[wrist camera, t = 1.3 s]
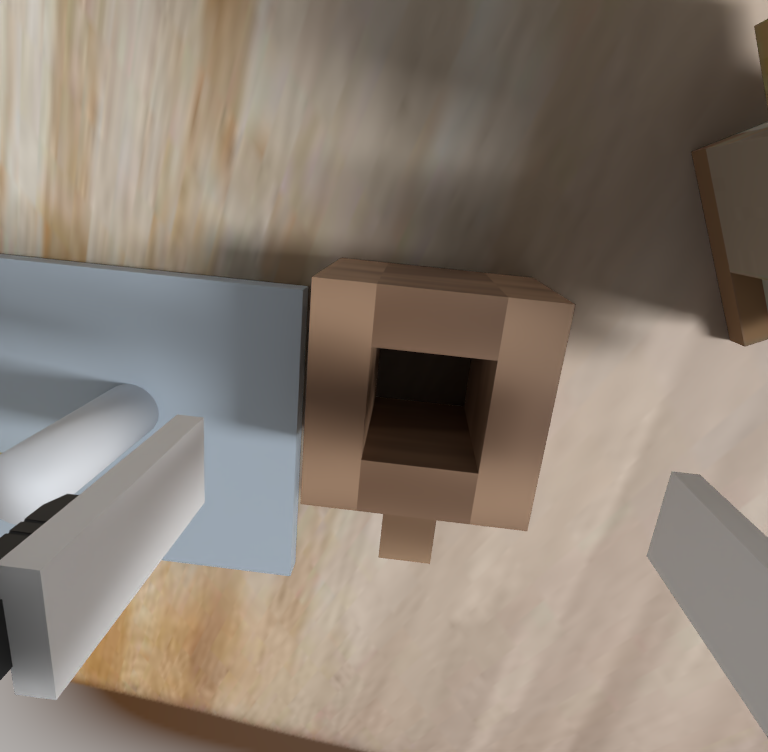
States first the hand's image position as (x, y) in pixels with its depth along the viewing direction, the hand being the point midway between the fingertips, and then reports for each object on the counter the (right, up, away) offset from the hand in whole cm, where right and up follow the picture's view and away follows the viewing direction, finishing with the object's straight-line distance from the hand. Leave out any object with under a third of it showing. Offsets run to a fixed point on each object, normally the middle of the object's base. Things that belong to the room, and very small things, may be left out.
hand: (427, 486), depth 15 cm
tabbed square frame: (+1, +2, +12) cm, 12 cm away
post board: (-15, +1, +13) cm, 20 cm away
